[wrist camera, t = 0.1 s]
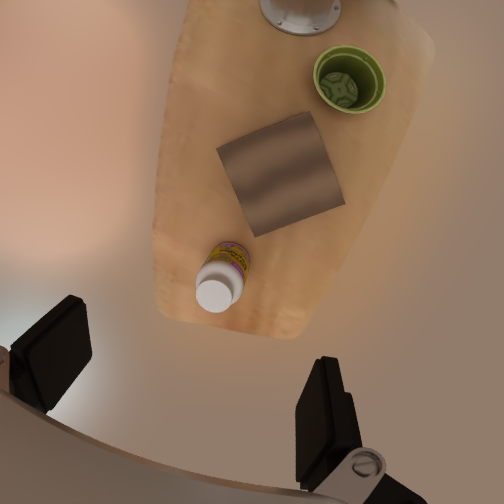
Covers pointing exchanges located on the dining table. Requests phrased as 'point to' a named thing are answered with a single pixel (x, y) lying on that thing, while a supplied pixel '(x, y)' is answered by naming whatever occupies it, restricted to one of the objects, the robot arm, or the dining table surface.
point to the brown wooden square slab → (281, 174)
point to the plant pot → (349, 79)
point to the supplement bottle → (222, 277)
